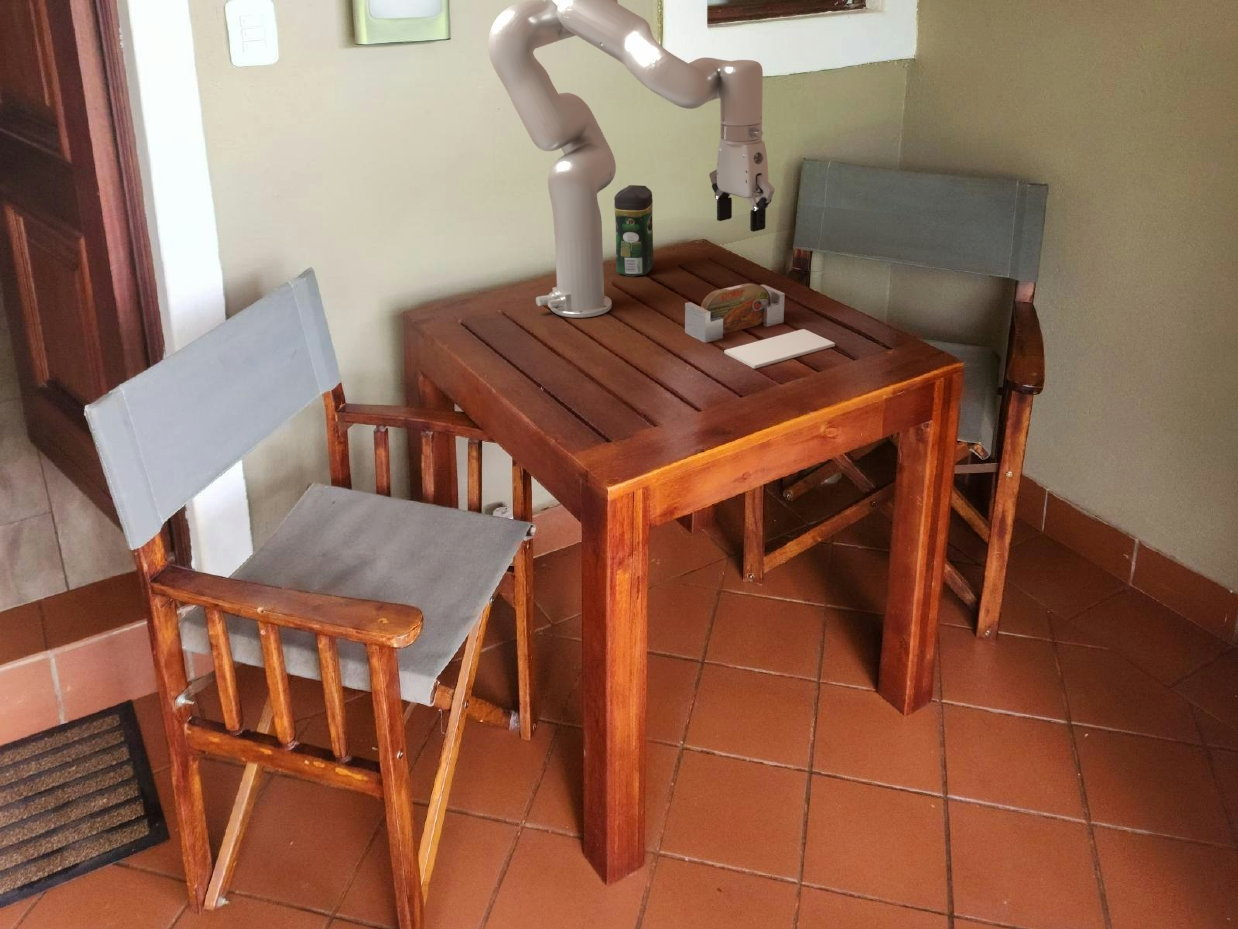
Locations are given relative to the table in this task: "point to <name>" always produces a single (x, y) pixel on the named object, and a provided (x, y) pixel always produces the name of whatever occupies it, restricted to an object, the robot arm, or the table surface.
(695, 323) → the end brackets
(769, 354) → the mat
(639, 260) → the coffee jar
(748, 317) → the tin
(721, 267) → the table surface
